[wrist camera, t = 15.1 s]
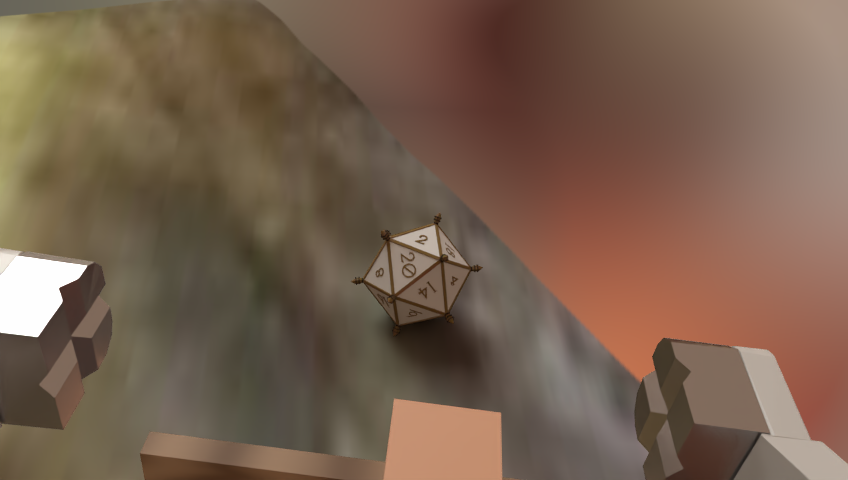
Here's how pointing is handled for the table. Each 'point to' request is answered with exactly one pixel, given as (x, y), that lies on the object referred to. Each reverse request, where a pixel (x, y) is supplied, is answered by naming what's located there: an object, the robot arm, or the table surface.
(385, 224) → the table surface
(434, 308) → the game die
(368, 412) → the table surface
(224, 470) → the board
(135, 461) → the table surface
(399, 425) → the terracotta block
